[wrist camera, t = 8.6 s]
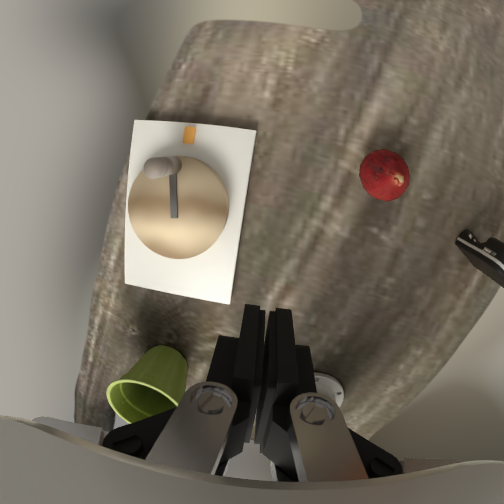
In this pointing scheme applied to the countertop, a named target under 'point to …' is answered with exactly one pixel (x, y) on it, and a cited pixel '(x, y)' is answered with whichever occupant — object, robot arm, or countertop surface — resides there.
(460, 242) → the battery charger
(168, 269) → the stand
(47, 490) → the robot arm
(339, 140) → the countertop surface
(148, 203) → the capstan dial
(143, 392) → the plant pot
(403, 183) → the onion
